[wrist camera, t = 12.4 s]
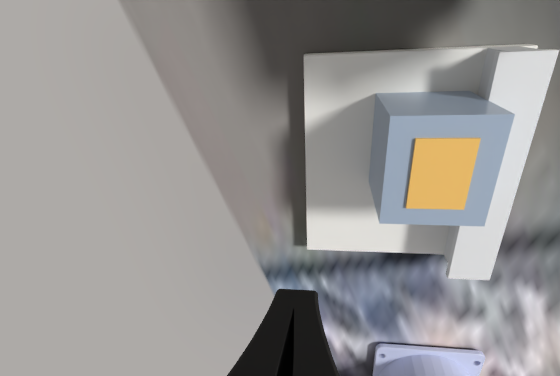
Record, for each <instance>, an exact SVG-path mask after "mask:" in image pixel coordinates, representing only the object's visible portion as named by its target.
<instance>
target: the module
mask: <svg viewBox="0 0 560 376" xmlns="http://www.w3.org/2000/svg"><path fill="white" fill-rule="evenodd" d="M514 116H515V114H514V113H512V112H510V111H508V110H506V109H504V108H502V107H500V106H498V105H496V104H494V103H492V102H490V101H488V100H486V99H484V98H482V97H480V96H479V95H477V94H475V93H473V92H471V91H443V92H400V93H376V96H375V108H374V120H373V133H372V145H371V158H370V170H369V184H370V188H371V192H372V196H373V200H374V204H375V208H376V212H377V216H378V220H379V224H414V225H449V226H485V222H486V219H487V215H488V211H489V208H490V204H491V200H492V197H493V193H494V189H495V186H496V182H497V178H498V175H499V171H500V167H501V164H502V160H503V156H504V153H505V149H506V145H507V142H508V138H509V134H510V131H511V127H512V123H513V120H514Z"/></svg>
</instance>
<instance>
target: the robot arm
mask: <svg viewBox="0 0 560 376" xmlns="http://www.w3.org/2000/svg"><path fill="white" fill-rule="evenodd" d="M484 360H485V356H484V354H483V352H481V351H478V350H465V349H451V348H438V347H424V346H410V345H396V344H383V343H382V344H378V345H377V346H376V348H375V357H374V365H373V374H372V376H479V375H480V372H481V369H482V366H483V363H484ZM227 376H339V373H338V371H337V368H336V365H335V363H334V360H333V357H332V354H331V351H330V348H329V345H328V342H327V339H326V335H325V332H324V328H323V325H322V320H321V316H320V311H319V305H318V293H317V292H316V291H310V290H291V289H279V290H278V291H277V292H276V294H275V297H274V299H273V301H272V304H271V306H270V308H269V310H268V312H267V314H266V315H265V317H264V319H263V321H262V323H261V325H260V326H259V328H258V330H257V332H256V333H255V335H254V337H253V338H252V340H251V341H250V343H249V345H248V346H247V348H246V349H245V351H244V352H243V354H242V355H241V357H240V358H239V360H238V361H237V363H236V364H235V365H234V367H233V368H232V370H231V371H230V372H229V374H228V375H227Z"/></svg>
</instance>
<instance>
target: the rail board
mask: <svg viewBox="0 0 560 376" xmlns="http://www.w3.org/2000/svg"><path fill="white" fill-rule="evenodd" d="M537 47H538V45H530V44H515V45H493V46H470V47H447V48H425V49H402V50H379V51H356V52H334V53H311V54H304V102H305V156H306V210H307V249H310V250H337V251H365V252H392V253H420V254H444V256H445V258H446V260H447V262H448V266H447V271H446V275H447V277H448V278H452V279H474V280H490V277H491V274H492V270H493V267H494V264H495V260H496V257H497V254H498V251H499V247H500V244H501V241H502V237H503V234H504V231H505V227H506V224H507V221H508V217H509V214H510V211H511V208H512V204H513V201H514V198H515V194H516V191H517V188H518V184H519V181H520V178H521V175H522V171H523V168H524V165H525V161H526V158H527V155H528V151H529V148H530V145H531V142H532V138H533V135H534V132H535V128H536V125H537V122H538V118H539V115H540V112H541V109H542V105H543V102H544V99H545V95H546V92H547V89H548V85H549V82H550V79H551V76H552V72H553V69H554V66H555V62H556V59H557V56H558V52H559V50H556V49H545V50H542V49H537ZM443 91H471V92H473V93H475V94H477V95H479V96H480V97H482V98H484V99H486V100H488V101H490V102H492V103H494V104H496V105H498V106H500V107H502V108H504V109H506V110H508V111H510V112H512V113H514V114H515V116H514V120H513V123H512V127H511V131H510V134H509V138H508V142H507V145H506V149H505V153H504V156H503V160H502V164H501V167H500V171H499V175H498V178H497V182H496V186H495V189H494V193H493V197H492V200H491V204H490V208H489V211H488V215H487V219H486V222H485V226H449V225H414V224H379V220H378V216H377V212H376V208H375V204H374V200H373V196H372V192H371V188H370V184H369V170H370V158H371V145H372V133H373V120H374V108H375V96H376V93H400V92H443Z"/></svg>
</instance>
